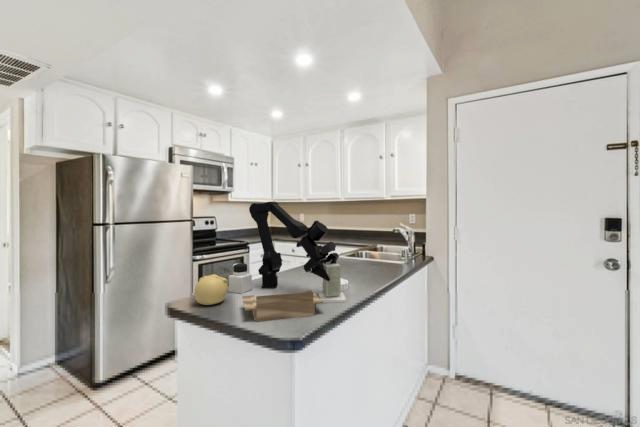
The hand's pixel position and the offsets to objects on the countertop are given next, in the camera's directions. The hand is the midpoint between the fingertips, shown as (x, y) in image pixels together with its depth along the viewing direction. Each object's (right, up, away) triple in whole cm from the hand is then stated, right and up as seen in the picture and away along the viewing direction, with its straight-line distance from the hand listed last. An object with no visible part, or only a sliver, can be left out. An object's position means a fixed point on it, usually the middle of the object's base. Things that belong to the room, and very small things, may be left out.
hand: (334, 278), depth 126 cm
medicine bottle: (-41, -8, +13) cm, 43 cm away
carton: (-19, -9, -13) cm, 25 cm away
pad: (-1, -8, +1) cm, 8 cm away
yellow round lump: (-48, -9, -3) cm, 49 cm away
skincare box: (-1, -7, +1) cm, 7 cm away
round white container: (+1, -8, +18) cm, 20 cm away
